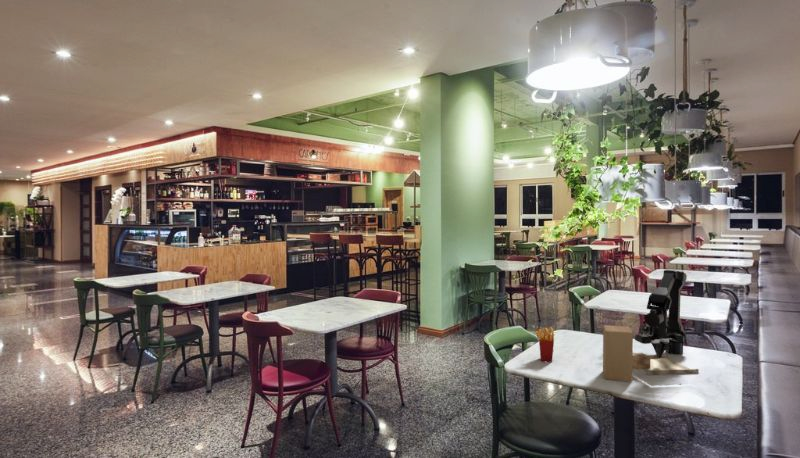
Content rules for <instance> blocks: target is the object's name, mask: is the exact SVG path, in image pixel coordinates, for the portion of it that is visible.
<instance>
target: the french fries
mask: <svg viewBox="0 0 800 458" xmlns="http://www.w3.org/2000/svg"><path fill="white" fill-rule="evenodd" d="M549 329H550V331H551V332H549ZM549 329H548V328H547V327H544V328H541V329H540V328H539V329H537V330H536V331H535V334H536V336H537V337H538V341H539V342H538V343H539V354H540V361H541V362H544V361H546V362H547V363H552V362H553V355H554V346H555V345H554V343H555V338H554V336H555V334H554V333H555V331H554V329H553V326H550V327H549Z"/></svg>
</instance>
